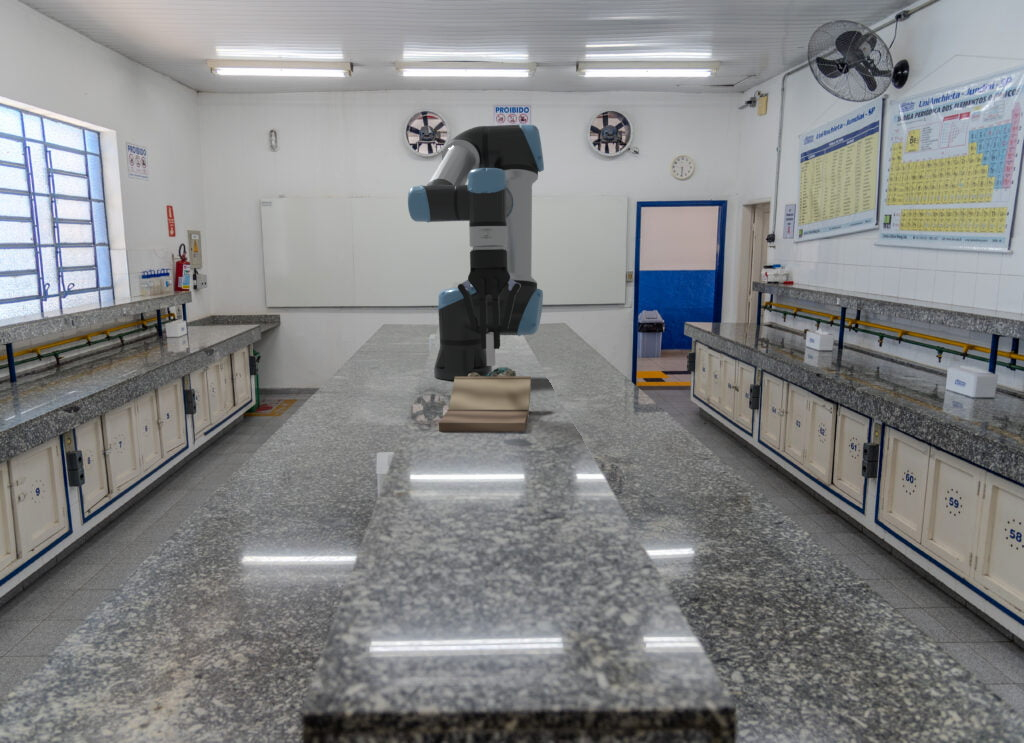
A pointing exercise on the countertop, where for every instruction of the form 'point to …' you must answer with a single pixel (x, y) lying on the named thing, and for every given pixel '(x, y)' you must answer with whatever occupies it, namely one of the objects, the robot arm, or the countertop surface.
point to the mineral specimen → (497, 372)
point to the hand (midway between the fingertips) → (491, 364)
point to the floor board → (484, 420)
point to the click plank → (491, 393)
